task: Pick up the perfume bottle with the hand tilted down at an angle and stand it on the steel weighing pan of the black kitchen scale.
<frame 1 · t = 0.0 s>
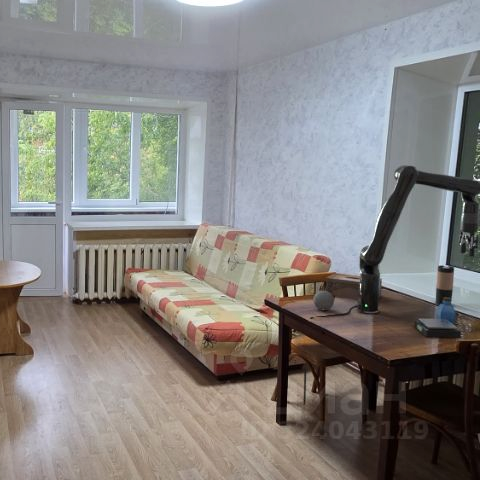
hand: (467, 254, 254), 29 cm above the table, tool pointing down, fingers open, 8 cm apart
tissue box cover: (353, 295, 293), on the table
decorative ball: (323, 310, 267), on the table
scale pan: (437, 323, 231), point 4 cm above the table, slide at 0.0 cm
travel mug: (443, 304, 274), on the table
perfume bottle: (445, 323, 244), on the table
scale: (436, 332, 232), on the table
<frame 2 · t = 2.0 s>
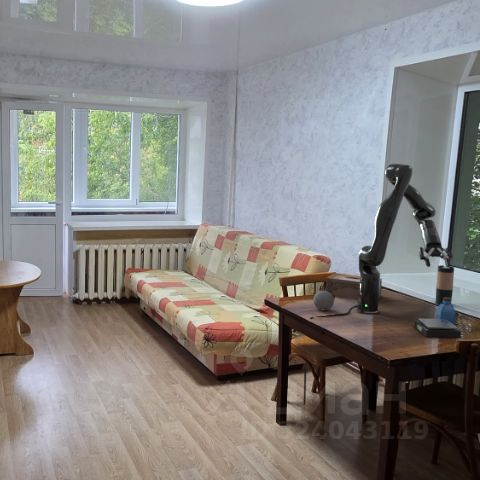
hand: (438, 266, 251), 25 cm above the table, tool tilted 45°, fingers open, 8 cm apart
nothing on the table moved.
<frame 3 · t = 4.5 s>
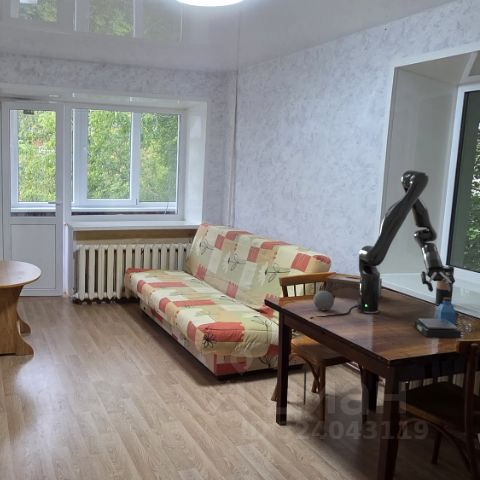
hand: (441, 291, 248), 14 cm above the table, tool tilted 45°, fingers open, 8 cm apart
nothing on the table moved.
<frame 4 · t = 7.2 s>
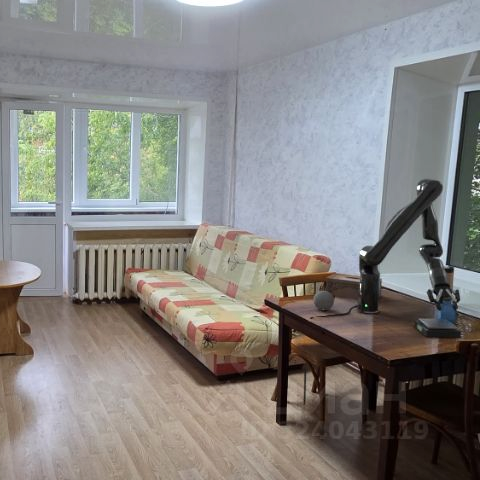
hand: (447, 309, 241), 7 cm above the table, tool tilted 45°, fingers closed on perfume bottle, 6 cm apart
perfume bottle: (445, 323, 244), on the table, touching gripper
everything else where it was.
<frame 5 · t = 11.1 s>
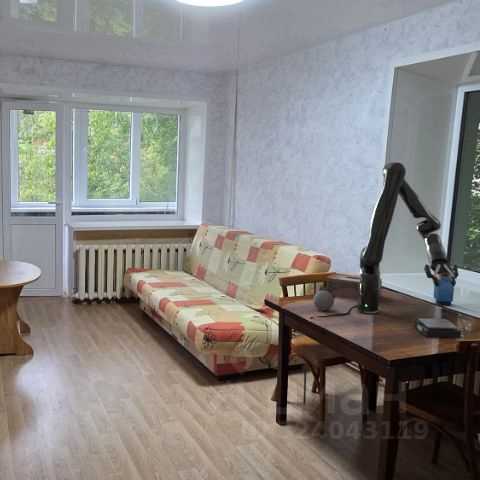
hand: (445, 285, 233), 20 cm above the table, tool tilted 45°, fingers closed on perfume bottle, 6 cm apart
perfume bottle: (442, 299, 236), point 13 cm above the table, touching gripper
everything else where it was.
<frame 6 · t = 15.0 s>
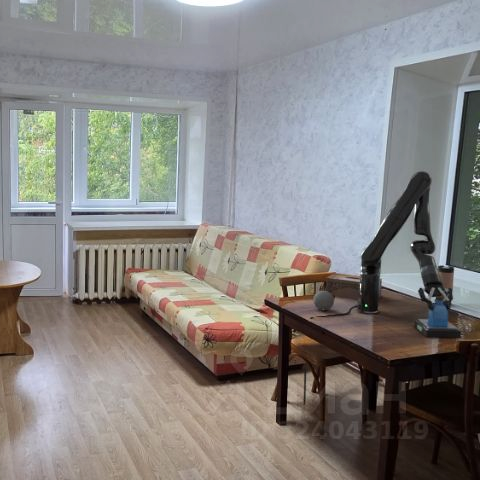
hand: (440, 309, 229), 11 cm above the table, tool tilted 45°, fingers closed on perfume bottle, 6 cm apart
scale pan: (437, 324, 231), point 4 cm above the table, slide at -0.3 cm, touching perfume bottle
perfume bottle: (437, 323, 232), point 4 cm above the table, touching gripper, scale pan
everything else where it was.
when the fingers open (11 cm above the table, at t = 15.3 s): perfume bottle stays where it is, resting on scale pan.
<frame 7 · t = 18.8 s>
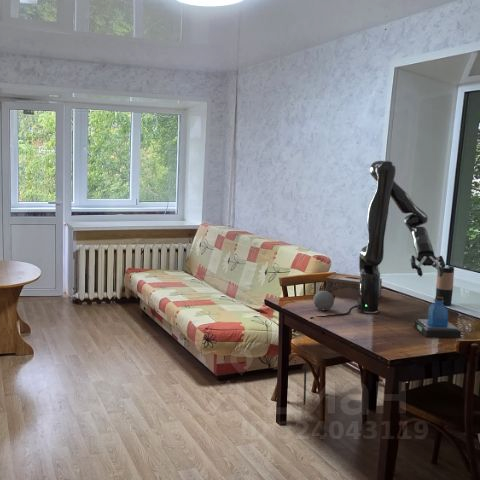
hand: (431, 275, 240), 23 cm above the table, tool tilted 45°, fingers open, 8 cm apart
perfume bottle: (437, 323, 232), point 4 cm above the table, touching scale pan
everything else where it was.
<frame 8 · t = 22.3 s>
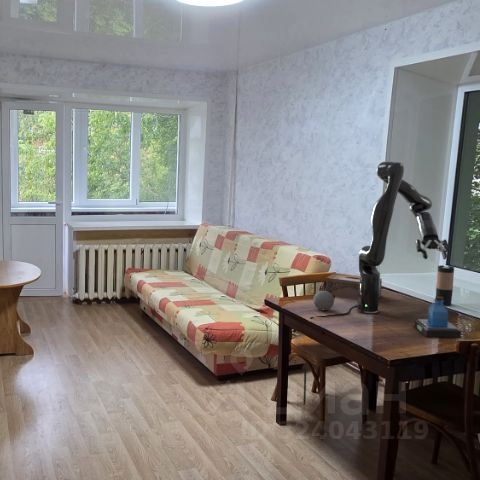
hand: (435, 258, 250), 29 cm above the table, tool tilted 45°, fingers open, 8 cm apart
nothing on the table moved.
at the end: perfume bottle inside the target area on the scale (0.2 cm from its centre), point 3.7 cm above the scale's base; perfume bottle tilted 0°; the gripper is holding nothing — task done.
